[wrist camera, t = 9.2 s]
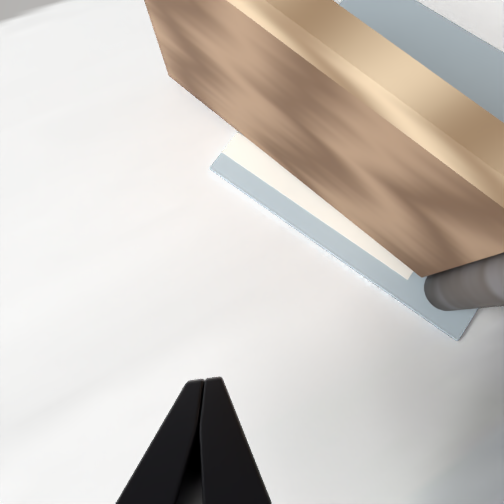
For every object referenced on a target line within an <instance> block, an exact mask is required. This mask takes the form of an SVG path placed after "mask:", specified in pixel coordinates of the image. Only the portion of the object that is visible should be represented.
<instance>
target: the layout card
mask: <svg viewBox="0 0 504 504" xmlns="http://www.w3.org/2000/svg"><path fill="white" fill-rule="evenodd" d="M339 5H340V6H341V7H343V8H344V9H346V10H347V11H348V12H350V13H351V14H353V15H354V16H355V17H357V18H358V19H360V20H361V21H362V22H364V23H365V24H366V25H368V26H369V27H371V28H372V29H373V30H375V31H376V32H378V33H379V34H380V35H382V36H383V37H385V38H386V39H387V40H389V41H390V42H392V43H393V44H394V45H396V46H397V47H399V48H400V49H401V50H403V51H404V52H405V53H407V54H408V55H410V56H411V57H412V58H414V59H415V60H417V61H418V62H419V63H421V64H422V65H424V66H425V67H426V68H428V69H429V70H431V71H432V72H433V73H435V74H436V75H438V76H439V77H440V78H442V79H443V80H444V81H446V82H447V83H449V84H450V85H451V86H453V87H454V88H456V89H457V90H458V91H460V92H461V93H463V94H464V95H465V96H467V97H468V98H470V99H471V100H472V101H474V102H475V103H477V104H478V105H479V106H481V107H482V108H483V109H485V110H486V111H488V112H489V113H490V114H492V115H493V116H495V117H496V118H497V119H499V120H500V121H502V122H503V123H504V53H503V52H502V51H500V50H498V49H497V48H495V47H493V46H492V45H490V44H488V43H487V42H485V41H483V40H481V39H480V38H478V37H476V36H475V35H473V34H471V33H470V32H468V31H466V30H465V29H463V28H461V27H460V26H458V25H456V24H455V23H453V22H451V21H449V20H448V19H446V18H444V17H443V16H441V15H439V14H438V13H436V12H434V11H433V10H431V9H429V8H428V7H426V6H424V5H423V4H421V3H419V2H417V1H416V0H343V1H342V2H341V3H340V4H339ZM210 170H212V171H213V172H214V173H216V174H217V175H219V176H220V177H222V178H223V179H224V180H226V181H227V182H229V183H230V184H232V185H233V186H234V187H236V188H237V189H239V190H240V191H242V192H243V193H245V194H246V195H247V196H249V197H250V198H252V199H253V200H255V201H256V202H257V203H259V204H260V205H262V206H263V207H265V208H266V209H268V210H269V211H270V212H272V213H273V214H275V215H276V216H278V217H279V218H280V219H282V220H283V221H285V222H286V223H288V224H289V225H290V226H292V227H293V228H295V229H296V230H298V231H299V232H301V233H302V234H303V235H305V236H306V237H308V238H309V239H311V240H312V241H313V242H315V243H316V244H318V245H319V246H321V247H322V248H324V249H325V250H326V251H328V252H329V253H331V254H332V255H334V256H335V257H336V258H338V259H339V260H341V261H342V262H344V263H345V264H347V265H348V266H349V267H351V268H352V269H354V270H355V271H357V272H358V273H359V274H361V275H362V276H364V277H365V278H367V279H368V280H369V281H371V282H372V283H374V284H375V285H377V286H378V287H380V288H381V289H382V290H384V291H385V292H387V293H388V294H390V295H391V296H392V297H394V298H395V299H397V300H398V301H400V302H401V303H403V304H404V305H405V306H407V307H408V308H410V309H411V310H413V311H414V312H415V313H417V314H418V315H420V316H421V317H423V318H424V319H425V320H427V321H428V322H430V323H431V324H433V325H434V326H436V327H437V328H438V329H440V330H441V331H443V332H444V333H446V334H447V335H448V336H450V337H451V338H453V339H454V340H456V341H458V340H459V339H460V337H461V336H462V334H463V332H464V331H465V329H466V327H467V326H468V324H469V323H470V321H471V319H472V318H473V316H474V314H475V313H476V311H477V310H478V308H475V309H464V310H454V311H443V310H439V309H437V308H435V307H434V306H433V305H432V304H431V303H430V302H429V301H428V300H427V298H426V296H425V292H424V283H425V280H426V278H427V276H425V277H422V278H421V277H420V276H419V275H417V274H416V273H415V272H414V271H412V270H411V269H410V268H409V267H407V266H406V265H405V264H404V263H402V262H401V261H400V260H399V259H397V258H396V257H395V256H394V255H392V254H391V253H390V252H389V251H387V250H386V249H385V248H384V247H382V246H381V245H380V244H379V243H377V242H376V241H375V240H374V239H372V238H371V237H370V236H369V235H367V234H366V233H365V232H364V231H362V230H361V229H360V228H359V227H357V226H356V225H355V224H354V223H352V222H351V221H350V220H349V219H347V218H346V217H345V216H344V215H342V214H341V213H340V212H339V211H337V210H336V209H335V208H334V207H332V206H331V205H330V204H329V203H327V202H326V201H325V200H324V199H322V198H321V197H320V196H319V195H317V194H316V193H315V192H314V191H312V190H311V189H310V188H309V187H307V186H306V185H305V184H304V183H302V182H301V181H300V180H299V179H297V178H296V177H295V176H294V175H292V174H291V173H290V172H289V171H287V170H286V169H285V168H284V167H282V166H281V165H280V164H279V163H277V162H276V161H275V160H274V159H272V158H271V157H270V156H269V155H267V154H266V153H265V152H264V151H262V150H261V149H260V148H259V147H257V146H256V145H255V144H254V143H252V142H251V141H250V140H249V139H247V138H246V137H245V136H244V135H242V134H241V133H240V132H239V131H238V132H237V133H236V135H235V136H234V137H233V138H232V140H231V141H230V142H229V144H228V145H227V146H226V147H225V149H224V150H223V151H222V153H221V154H220V155H219V156H218V158H217V159H216V160H215V161H214V163H213V164H212V165H211V167H210Z"/></svg>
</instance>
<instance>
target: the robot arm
mask: <svg viewBox="0 0 504 504" xmlns="http://www.w3.org/2000/svg"><path fill="white" fill-rule="evenodd" d="M116 504H272V503H271V500H270V497H269V495H268V492H267V490H266V487H265V485H264V482H263V480H262V477H261V475H260V472H259V470H258V467H257V464H256V462H255V459H254V457H253V454H252V452H251V449H250V447H249V444H248V442H247V439H246V437H245V434H244V431H243V429H242V426H241V424H240V421H239V419H238V416H237V414H236V411H235V409H234V406H233V404H232V401H231V399H230V396H229V393H228V391H227V388H226V386H225V383H224V381H223V379H222V377H212V378H207V379H206V380H204V379H197V380H190V381H188V382H187V383H186V384H185V386H184V387H183V389H182V391H181V393H180V394H179V396H178V398H177V399H176V401H175V403H174V405H173V406H172V408H171V410H170V411H169V413H168V415H167V416H166V418H165V420H164V422H163V423H162V425H161V427H160V428H159V430H158V432H157V434H156V435H155V437H154V439H153V440H152V442H151V444H150V446H149V447H148V449H147V451H146V452H145V454H144V456H143V458H142V459H141V461H140V463H139V464H138V466H137V468H136V470H135V471H134V473H133V475H132V476H131V478H130V480H129V481H128V483H127V485H126V487H125V488H124V490H123V492H122V493H121V495H120V497H119V499H118V500H117V502H116Z"/></svg>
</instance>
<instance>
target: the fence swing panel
mask: <svg viewBox="0 0 504 504" xmlns="http://www.w3.org/2000/svg"><path fill="white" fill-rule="evenodd" d="M144 1H145V4H146V7H147V10H148V13H149V16H150V19H151V22H152V26H153V29H154V32H155V35H156V38H157V41H158V44H159V47H160V50H161V53H162V56H163V59H164V62H165V65H166V68H167V72H168V75H169V76H170V77H171V78H172V79H174V80H175V81H176V82H177V83H179V84H180V85H181V86H182V87H184V88H185V89H186V90H187V91H189V92H190V93H191V94H192V95H194V96H195V97H196V98H197V99H199V100H200V101H201V102H202V103H204V104H205V105H206V106H207V107H209V108H210V109H211V110H212V111H214V112H215V113H216V114H217V115H219V116H220V117H221V118H222V119H224V120H225V121H226V122H227V123H229V124H230V125H231V126H232V127H234V128H235V129H236V130H237V131H239V132H240V133H241V134H242V135H244V136H245V137H246V138H247V139H249V140H250V141H251V142H252V143H254V144H255V145H256V146H257V147H259V148H260V149H261V150H262V151H264V152H265V153H266V154H267V155H269V156H270V157H271V158H272V159H274V160H275V161H276V162H277V163H279V164H280V165H281V166H282V167H284V168H285V169H286V170H287V171H289V172H290V173H291V174H292V175H294V176H295V177H296V178H297V179H299V180H300V181H301V182H302V183H304V184H305V185H306V186H307V187H309V188H310V189H311V190H312V191H314V192H315V193H316V194H317V195H319V196H320V197H321V198H322V199H324V200H325V201H326V202H327V203H329V204H330V205H331V206H332V207H334V208H335V209H336V210H337V211H339V212H340V213H341V214H342V215H344V216H345V217H346V218H347V219H349V220H350V221H351V222H352V223H354V224H355V225H356V226H357V227H359V228H360V229H361V230H362V231H364V232H365V233H366V234H367V235H369V236H370V237H371V238H372V239H374V240H375V241H376V242H377V243H379V244H380V245H381V246H382V247H384V248H385V249H386V250H387V251H389V252H390V253H391V254H392V255H394V256H395V257H396V258H397V259H399V260H400V261H401V262H402V263H404V264H405V265H406V266H407V267H409V268H410V269H411V270H412V271H414V272H415V273H416V274H417V275H419V276H420V277H421V278H422V277H425V276H429V275H432V274H435V273H438V272H442V271H445V270H448V269H451V268H455V267H458V266H461V265H464V264H468V263H471V262H474V261H477V260H481V259H484V258H487V257H490V256H494V255H497V254H500V253H503V252H504V123H503V122H502V121H500V120H499V119H497V118H496V117H495V116H493V115H492V114H490V113H489V112H488V111H486V110H485V109H483V108H482V107H481V106H479V105H478V104H477V103H475V102H474V101H472V100H471V99H470V98H468V97H467V96H465V95H464V94H463V93H461V92H460V91H458V90H457V89H456V88H454V87H453V86H451V85H450V84H449V83H447V82H446V81H444V80H443V79H442V78H440V77H439V76H438V75H436V74H435V73H433V72H432V71H431V70H429V69H428V68H426V67H425V66H424V65H422V64H421V63H419V62H418V61H417V60H415V59H414V58H412V57H411V56H410V55H408V54H407V53H405V52H404V51H403V50H401V49H400V48H399V47H397V46H396V45H394V44H393V43H392V42H390V41H389V40H387V39H386V38H385V37H383V36H382V35H380V34H379V33H378V32H376V31H375V30H373V29H372V28H371V27H369V26H368V25H366V24H365V23H364V22H362V21H361V20H360V19H358V18H357V17H355V16H354V15H353V14H351V13H350V12H348V11H347V10H346V9H344V8H343V7H341V6H340V5H339V4H337V3H336V2H334V1H333V0H144Z"/></svg>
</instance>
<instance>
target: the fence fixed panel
mask: <svg viewBox="0 0 504 504" xmlns="http://www.w3.org/2000/svg"><path fill="white" fill-rule="evenodd" d="M424 292H425V296H426V298H427V300H428V301H429V302H430V303H431V304H432V305H433V306H434V307H435V308H437V309H439V310H443V311H454V310H464V309H475V308H485V307H495V306H504V252H503V253H500V254H497V255H494V256H490V257H487V258H484V259H481V260H477V261H474V262H471V263H468V264H464V265H461V266H458V267H455V268H451V269H448V270H445V271H442V272H438V273H435V274H432V275H429V276H427V278H426V280H425V283H424Z"/></svg>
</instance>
